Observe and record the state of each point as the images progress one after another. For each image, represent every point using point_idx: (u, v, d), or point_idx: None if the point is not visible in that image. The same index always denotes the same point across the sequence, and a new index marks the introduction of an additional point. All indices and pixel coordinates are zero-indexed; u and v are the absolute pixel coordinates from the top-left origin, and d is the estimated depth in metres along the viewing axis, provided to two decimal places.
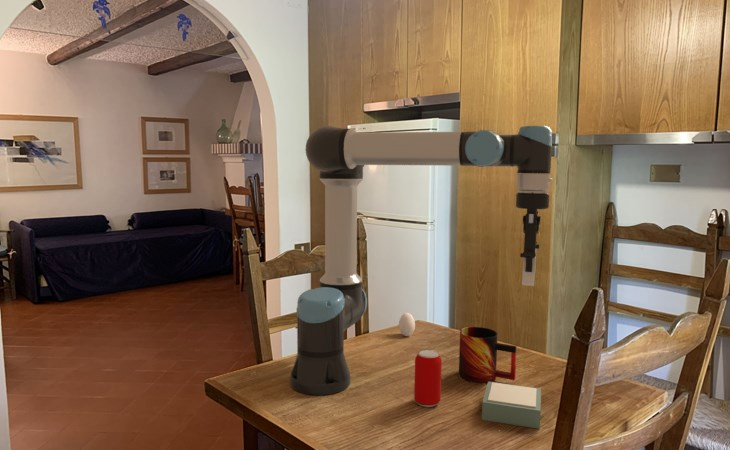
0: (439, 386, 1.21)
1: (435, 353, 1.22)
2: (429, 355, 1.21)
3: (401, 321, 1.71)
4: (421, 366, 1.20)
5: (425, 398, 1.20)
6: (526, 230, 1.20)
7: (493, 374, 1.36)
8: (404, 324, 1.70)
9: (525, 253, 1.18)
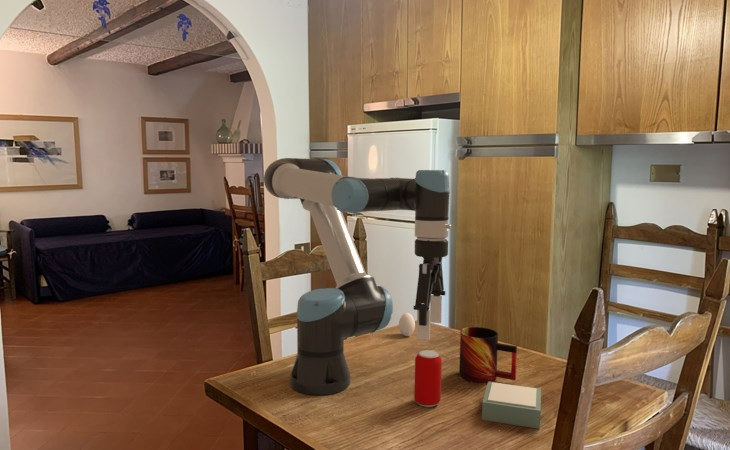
0: (439, 386, 1.21)
1: (435, 353, 1.22)
2: (429, 355, 1.21)
3: (401, 321, 1.71)
4: (421, 366, 1.20)
5: (425, 398, 1.20)
6: (419, 281, 1.13)
7: (494, 374, 1.36)
8: (404, 324, 1.70)
9: (416, 306, 1.11)
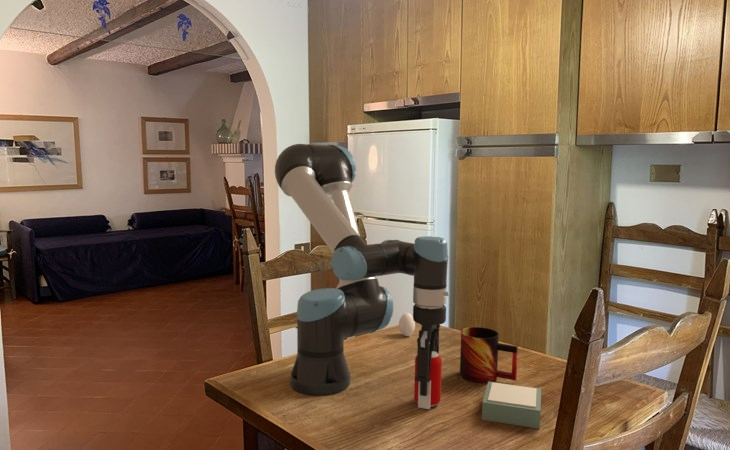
0: (439, 386, 1.21)
1: (435, 353, 1.22)
2: None
3: (401, 321, 1.71)
4: None
5: None
6: (418, 355, 1.16)
7: (494, 374, 1.36)
8: (404, 324, 1.70)
9: (418, 379, 1.17)
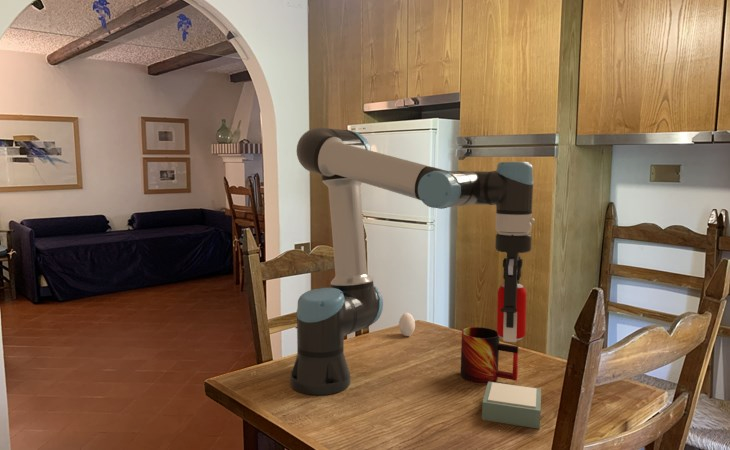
0: (524, 319, 1.15)
1: (519, 284, 1.16)
2: None
3: (401, 321, 1.71)
4: None
5: None
6: (505, 283, 1.10)
7: (495, 374, 1.36)
8: (404, 324, 1.70)
9: (505, 308, 1.11)
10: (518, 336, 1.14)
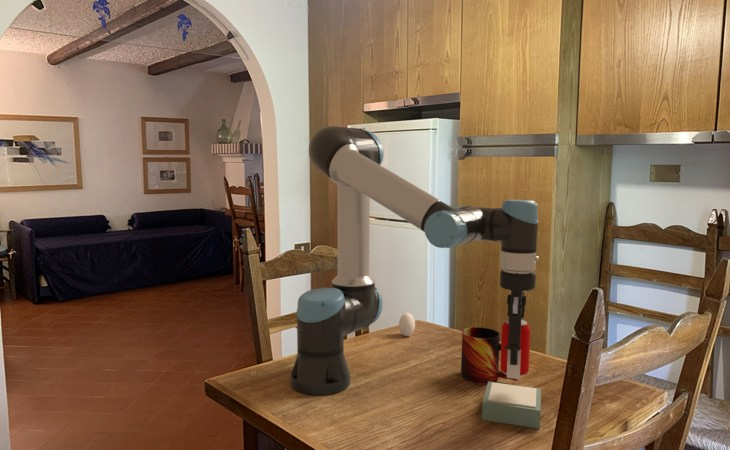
0: (528, 355, 1.16)
1: (523, 321, 1.17)
2: None
3: (401, 321, 1.71)
4: None
5: None
6: (510, 322, 1.11)
7: (495, 374, 1.36)
8: (404, 324, 1.70)
9: (509, 347, 1.11)
10: (522, 373, 1.15)
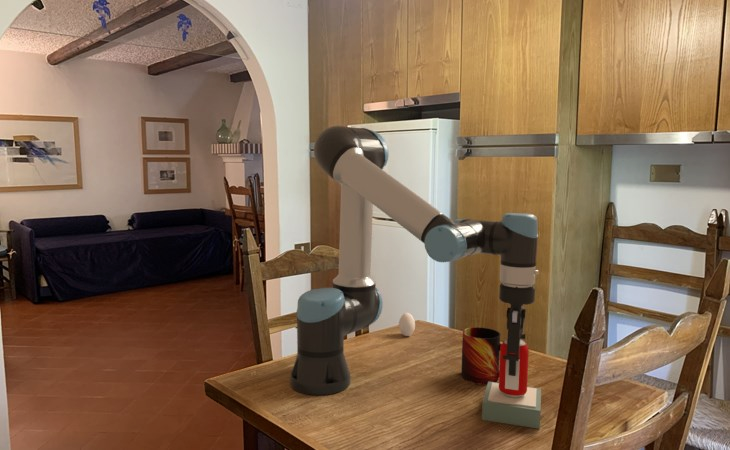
0: (526, 375, 1.17)
1: (522, 341, 1.18)
2: None
3: (401, 321, 1.71)
4: None
5: None
6: (509, 330, 1.10)
7: (496, 375, 1.36)
8: (404, 324, 1.70)
9: (508, 357, 1.08)
10: (520, 393, 1.16)
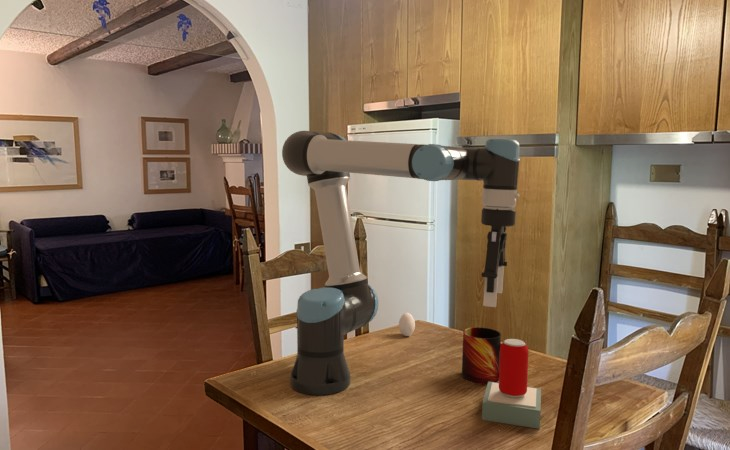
0: (526, 376, 1.17)
1: (521, 342, 1.18)
2: (516, 343, 1.16)
3: (401, 321, 1.71)
4: (508, 355, 1.15)
5: (512, 388, 1.16)
6: (488, 249, 1.14)
7: (496, 375, 1.36)
8: (404, 324, 1.70)
9: (486, 273, 1.13)
10: (520, 393, 1.16)
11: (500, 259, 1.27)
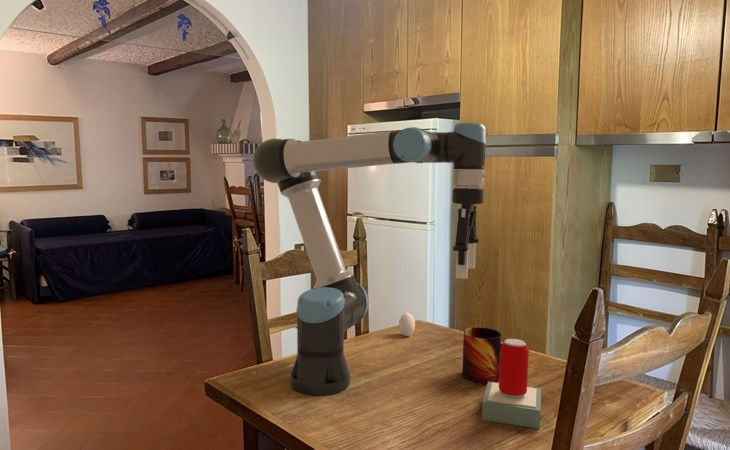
0: (526, 376, 1.17)
1: (522, 342, 1.18)
2: (516, 343, 1.16)
3: (401, 321, 1.71)
4: (509, 355, 1.15)
5: (512, 388, 1.16)
6: (458, 224, 1.23)
7: (497, 375, 1.36)
8: (404, 324, 1.70)
9: (456, 246, 1.22)
10: (520, 393, 1.16)
11: (472, 236, 1.36)
